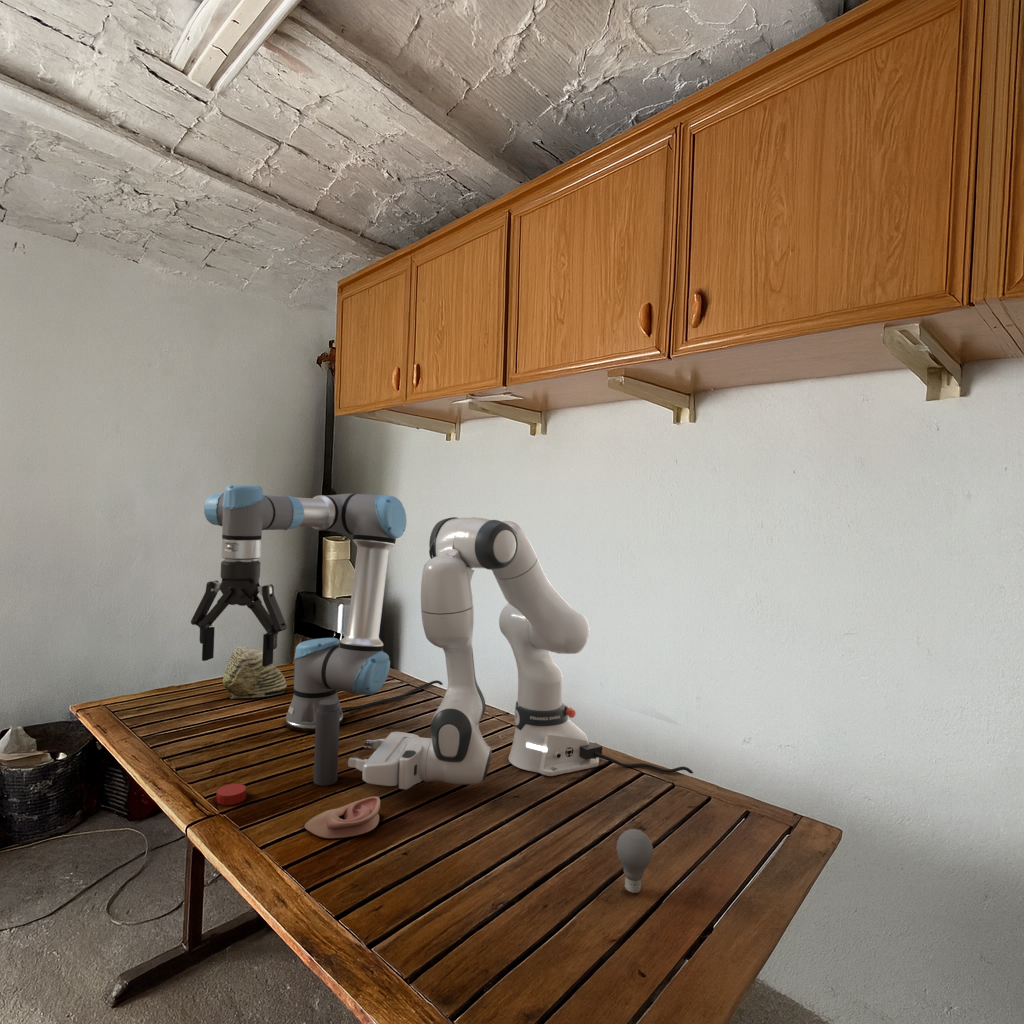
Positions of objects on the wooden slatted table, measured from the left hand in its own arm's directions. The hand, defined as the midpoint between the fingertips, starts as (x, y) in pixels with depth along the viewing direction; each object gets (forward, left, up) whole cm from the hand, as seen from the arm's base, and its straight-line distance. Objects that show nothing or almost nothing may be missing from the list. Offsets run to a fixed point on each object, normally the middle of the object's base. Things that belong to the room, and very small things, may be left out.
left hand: (237, 662), depth 131 cm
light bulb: (-29, +77, -28) cm, 87 cm away
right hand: (-22, +12, -22) cm, 33 cm away
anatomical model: (-9, +25, -28) cm, 39 cm away
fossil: (-38, -59, -28) cm, 76 cm away
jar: (-18, +7, -28) cm, 34 cm away
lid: (0, 0, -27) cm, 27 cm away
